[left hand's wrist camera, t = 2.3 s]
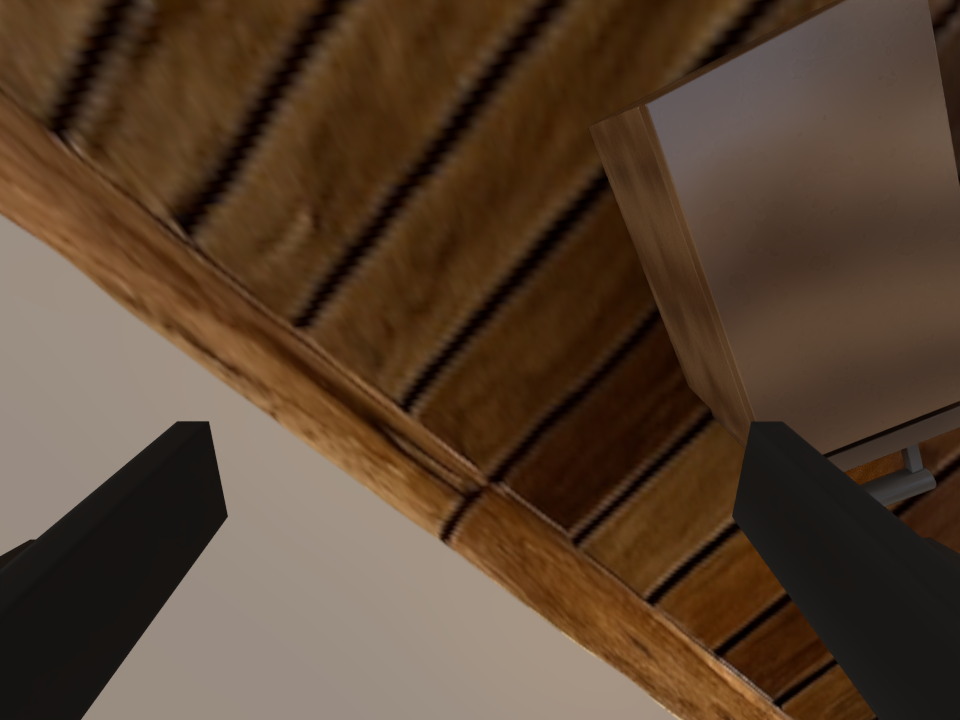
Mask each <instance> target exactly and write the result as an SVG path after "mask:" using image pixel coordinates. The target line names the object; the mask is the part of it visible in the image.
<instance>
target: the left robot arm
mask: <svg viewBox="0 0 960 720" xmlns="http://www.w3.org/2000/svg"><path fill="white" fill-rule="evenodd" d="M227 517H228V515H227V510H226V505H225V500H224V495H223V490H222V485H221V480H220V475H219V470H218V465H217V460H216V455H215V450H214V445H213V440H212V435H211V430H210V425H209V422H208V421H178V422H176V423H175V424H174V425H172V426H171V427H170V428H169V429H168V430H166V431H165V432H164V433H163V434H162V435H160V436H159V437H158V438H157V439H156V440H155V441H153V442H152V443H151V444H150V445H149V446H147V447H146V448H145V449H144V450H143V451H141V452H140V453H139V454H138V455H137V456H135V457H134V458H133V459H132V460H131V461H129V462H128V463H127V464H126V465H125V466H123V467H122V468H121V469H120V470H119V471H117V472H116V473H115V474H114V475H113V476H111V477H110V478H109V479H108V480H107V481H105V482H104V483H103V484H102V485H101V486H100V487H98V488H97V489H96V490H95V491H94V492H92V493H91V494H90V495H89V496H88V497H86V498H85V499H84V500H83V501H82V502H80V503H79V504H78V505H77V506H76V507H74V508H73V509H72V510H71V511H70V512H68V513H67V514H66V515H65V516H64V517H62V518H61V519H60V520H59V521H58V522H57V523H55V524H54V525H53V526H52V527H51V528H49V529H48V530H47V531H46V532H45V533H43V534H42V535H41V536H40V537H39V538H37V539H36V540H29V541H27V542H25V543H23V544H21V545H20V546H18V547H16V548H14V549H12V550H11V551H9V552H7V553H5V554H3V555H2V556H0V720H81V719H82V717H83V716H84V715H85V713H86V712H87V711H88V709H89V708H90V706H91V705H92V704H93V702H94V701H95V700H96V698H97V697H98V695H99V694H100V693H101V691H102V690H103V688H104V687H105V686H106V684H107V683H108V682H109V680H110V679H111V677H112V676H113V675H114V673H115V672H116V670H117V669H118V668H119V666H120V665H121V664H122V662H123V661H124V659H125V658H126V657H127V655H128V654H129V652H130V651H131V650H132V648H133V647H134V646H135V644H136V643H137V641H138V640H139V639H140V637H141V636H142V635H143V633H144V632H145V630H146V629H147V628H148V626H149V625H150V623H151V622H152V621H153V619H154V618H155V617H156V615H157V614H158V612H159V611H160V610H161V608H162V607H163V606H164V604H165V603H166V601H167V600H168V598H169V597H170V596H171V594H172V593H173V592H174V590H175V589H176V588H177V586H178V585H179V583H180V582H181V581H182V579H183V578H184V576H185V575H186V574H187V572H188V571H189V569H190V568H191V567H192V565H193V564H194V563H195V561H196V560H197V558H198V557H199V556H200V554H201V553H202V552H203V550H204V549H205V547H206V546H207V545H208V543H209V542H210V541H211V539H212V538H213V536H214V535H215V534H216V532H217V531H218V529H219V528H220V527H221V525H222V524H223V523H224V521H225V520H226V518H227ZM732 517H733V518H734V520H735V521H736V523H737V524H738V525H739V527H740V528H741V529H742V531H743V532H744V534H745V535H746V536H747V538H748V539H749V541H750V542H751V543H752V545H753V546H754V547H755V549H756V550H757V552H758V553H759V554H760V556H761V557H762V559H763V560H764V561H765V563H766V564H767V565H768V567H769V568H770V570H771V571H772V572H773V574H774V575H775V576H776V578H777V579H778V581H779V582H780V583H781V585H782V586H783V588H784V589H785V590H786V592H787V593H788V594H789V596H790V597H791V599H792V600H793V601H794V603H795V604H796V606H797V607H798V608H799V610H800V611H801V612H802V614H803V615H804V617H805V618H806V619H807V621H808V622H809V623H810V625H811V626H812V628H813V629H814V630H815V632H816V633H817V635H818V636H819V637H820V639H821V640H822V641H823V643H824V644H825V646H826V647H827V648H828V650H829V651H830V653H831V654H832V655H833V657H834V658H835V659H836V661H837V662H838V664H839V665H840V666H841V668H842V669H843V670H844V672H845V673H846V675H847V676H848V677H849V679H850V680H851V682H852V683H853V684H854V686H855V687H856V688H857V690H858V691H859V693H860V694H861V695H862V697H863V698H864V700H865V701H866V702H867V704H868V705H869V706H870V708H871V709H872V711H873V712H874V713H875V715H876V716H877V717H878V719H879V720H960V554H959V553H957V552H955V551H953V550H952V549H950V548H948V547H946V546H944V545H943V544H941V543H939V542H937V541H935V540H933V539H932V538H921V537H920V536H919V535H918V534H917V533H915V532H914V531H913V530H912V529H911V528H909V527H908V526H907V525H906V524H905V523H903V522H902V521H901V520H900V519H899V518H898V517H896V516H895V515H894V514H893V513H892V512H890V511H889V510H888V509H887V508H886V507H884V506H883V505H882V504H881V503H880V502H878V501H877V500H876V499H875V498H874V497H872V496H871V495H870V494H869V493H868V492H866V491H865V490H864V489H863V488H862V487H860V486H859V485H858V484H857V483H856V482H855V481H853V480H852V479H851V478H850V477H849V476H847V475H846V474H845V473H844V472H843V471H841V470H840V469H839V468H838V467H837V466H835V465H834V464H833V463H832V462H831V461H829V460H828V459H827V458H826V457H825V456H823V455H822V454H821V453H820V452H819V451H817V450H816V449H815V448H814V447H813V446H812V445H810V444H809V443H808V442H807V441H806V440H804V439H803V438H802V437H801V436H800V435H798V434H797V433H796V432H795V431H794V430H792V429H791V428H790V427H789V426H788V425H786V424H785V423H784V422H783V421H751V425H750V430H749V435H748V440H747V445H746V450H745V455H744V460H743V465H742V470H741V475H740V480H739V485H738V490H737V495H736V500H735V505H734V510H733V515H732Z"/></svg>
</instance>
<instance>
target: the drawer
mask: <svg viewBox="0 0 960 720" xmlns="http://www.w3.org/2000/svg"><path fill="white" fill-rule="evenodd" d="M711 411H712V410H711ZM712 414H713V416H714V418H715V419H716V420H717V421H718V422H719V423H720V424H721V425H722V426H723V427H724V428H725V429H726V430H727V431H728V432H729V433H730V434H731V435H732V436H733V437H734V438H735V439H736V440H737V442H738V443H739V444H740V445H741V446H742V447H743V448H744V449H745V450H746V444H745V443H744V442H743V441H742V440H741V439H740V438H739V437H738V436H737V435H736V434H735V433H734V432H733V431H732V430H731V429H730V428H729V427H728V426H727V425H726V424H725V423H724V422H723V421H722V420H721V419H720V418H719V417H718V416H717V415H716V414H715V413H714V412H713V411H712ZM959 427H960V401H958V402H955V403H953V404H950V405H948V406H945V407H943V408H940V409H938V410H935V411H932V412H930V413H927V414H925V415H922V416H920V417H917V418H915V419H912V420H910V421H907V422H905V423H902V424H899V425H897V426H894V427H892V428H889V429H887V430H884V431H882V432H879V433H877V434H874V435H871V436H869V437H866V438H864V439H861V440H859V441H856V442H854V443H851V444H849V445H846V446H843V447H841V448H838V449H836V450H833V451H831V452H828V453H826V454H823V456H825V457H826V458H827V459H828V460H829V461H831V462H832V463H833V464H834V465H835V466H837V467H838V468H839V469H840V470H841V471H843V472H845V471H847V470H850V469H853V468H855V467H858V466H860V465H863V464H866V463H868V462H871V461H873V460H876V459H878V458H881V457H884V456H886V455H889V454H891V453H894V452H897V451H899V450H901V452H902V456H903V460H904V464H905V468H903V469H900V470H897V471H895V472H892V473H890V474H887V475H884V476H882V477H879V478H876V479H874V480H871V481H869V482H866V483H863V484H861V485H859V486H860V487H862V488H863V489H864V490H865V491H866V492H868V493H869V494H870V495H871V496H872V497H874V498H875V499H876V500H877V501H878V502H880V503H881V504H882V505H883V506H884V507H886V506H888V505H891V504H894V503H896V502H899V501H902V500H904V499H907V498H910V497H913V496H915V495H918V494H921V493H923V492H926V491H929V490H931V489H934V488H935V487H936V481H935V479H934V477H933V476H932V474H931V473H930V472H929V470H928V469H927V468H925V467H924V466H923V465H922V461H921V457H920V452H919V448H918V444H917V443H920V442H923V441H925V440H928V439H930V438H933V437H935V436H938V435H941V434H943V433H946V432H948V431H951V430H954V429H956V428H959Z"/></svg>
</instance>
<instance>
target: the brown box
mask: <svg viewBox="0 0 960 720" xmlns="http://www.w3.org/2000/svg"><path fill="white" fill-rule="evenodd" d="M589 131H590V133H591V136H592V138H593V141H594V143H595V146H596V149H597V151H598V154H599V156H600V159H601V162H602V164H603V167H604V169H605V172H606V174H607V177H608V180H609V182H610V185H611V187H612V190H613V192H614V195H615V198H616V200H617V203H618V205H619V208H620V211H621V213H622V216H623V218H624V221H625V223H626V226H627V229H628V231H629V234H630V236H631V239H632V242H633V244H634V247H635V249H636V252H637V254H638V257H639V260H640V262H641V265H642V267H643V270H644V273H645V275H646V278H647V280H648V283H649V285H650V288H651V291H652V293H653V296H654V298H655V301H656V304H657V306H658V309H659V311H660V314H661V316H662V319H663V322H664V324H665V327H666V329H667V332H668V334H669V337H670V340H671V342H672V345H673V347H674V350H675V353H676V355H677V358H678V360H679V363H680V365H681V368H682V371H683V373H684V376H685V378H686V381H687V384H688V386H689V387H690V388H691V389H692V390H693V391H694V392H695V393H696V394H697V395H698V396H699V397H700V398H701V399H702V401H703V402H704V403H705V404H706V405H707V406H708V407H709V408H710V409H711V410H712V411H713V412H714V413H715V414H716V415H717V416H718V417H719V418H720V419H721V420H722V421H723V422H724V423H725V424H726V425H727V426H728V427H729V428H730V429H731V430H732V431H733V432H734V433H735V434H736V435H737V436H738V437H739V438H740V439H741V440H742V441H743V442H744V443H745V444H746V445H747V440H748V435H749V430H750V425H751V421H783V422H784V423H785V424H786V425H788V426H789V427H790V428H791V429H792V430H794V431H795V432H796V433H797V434H798V435H800V436H801V437H802V438H803V439H804V440H806V441H807V442H808V443H809V444H810V445H812V446H813V447H814V448H815V449H816V450H817V451H819V452H820V453H821V454H822V455H823V454H826V453H828V452H831V451H833V450H836V449H838V448H841V447H843V446H846V445H849V444H851V443H854V442H856V441H859V440H861V439H864V438H866V437H869V436H871V435H874V434H877V433H879V432H882V431H884V430H887V429H889V428H892V427H894V426H897V425H899V424H902V423H905V422H907V421H910V420H912V419H915V418H917V417H920V416H922V415H925V414H927V413H930V412H932V411H935V410H938V409H940V408H943V407H945V406H948V405H950V404H953V403H955V402H958V401H960V185H959V180H958V174H957V168H956V162H955V156H954V150H953V145H952V139H951V133H950V127H949V121H948V115H947V109H946V104H945V98H944V92H943V86H942V80H941V74H940V69H939V63H938V57H937V51H936V45H935V39H934V33H933V28H932V22H931V16H930V10H929V4H928V0H836V1H834V2H832V3H830V4H828V5H826V6H824V7H822V8H820V9H818V10H815V11H813V12H811V13H809V14H807V15H805V16H803V17H801V18H799V19H797V20H794V21H792V22H790V23H788V24H786V25H784V26H782V27H780V28H778V29H776V30H773V31H771V32H769V33H767V34H765V35H763V36H761V37H759V38H757V39H755V40H753V41H751V42H749V43H747V44H746V45H744V46H742V47H740V48H738V49H736V50H734V51H732V52H730V53H728V54H726V55H724V56H722V57H721V58H719V59H717V60H715V61H713V62H711V63H709V64H707V65H705V66H703V67H701V68H699V69H698V70H696V71H694V72H692V73H690V74H688V75H686V76H684V77H682V78H680V79H678V80H676V81H675V82H673V83H671V84H669V85H667V86H665V87H663V88H661V89H659V90H657V91H655V92H653V93H652V94H650V95H648V96H646V97H644V98H642V99H640V100H638V101H636V102H634V103H632V104H630V105H628V106H627V107H625V108H623V109H621V110H619V111H617V112H615V113H613V114H611V115H609V116H607V117H605V118H604V119H602V120H600V121H598V122H596V123H594V124H592V125H590V126H589Z"/></svg>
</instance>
